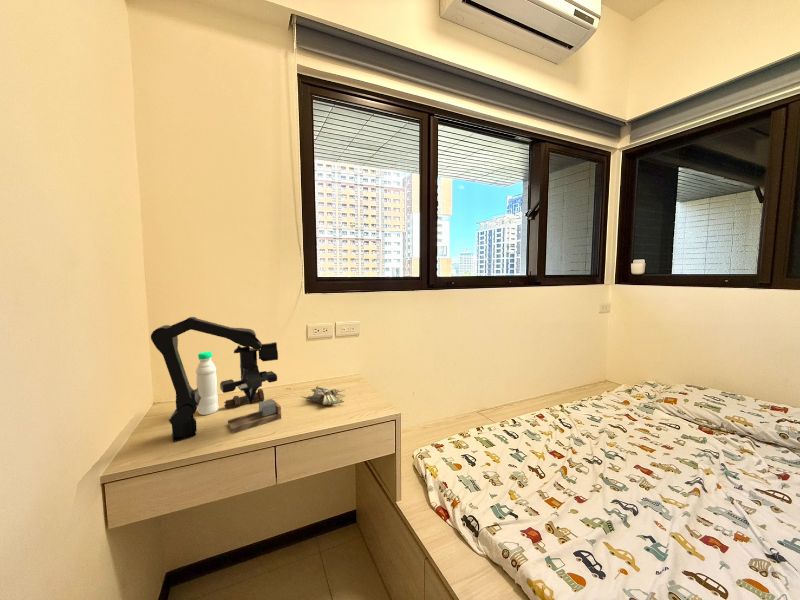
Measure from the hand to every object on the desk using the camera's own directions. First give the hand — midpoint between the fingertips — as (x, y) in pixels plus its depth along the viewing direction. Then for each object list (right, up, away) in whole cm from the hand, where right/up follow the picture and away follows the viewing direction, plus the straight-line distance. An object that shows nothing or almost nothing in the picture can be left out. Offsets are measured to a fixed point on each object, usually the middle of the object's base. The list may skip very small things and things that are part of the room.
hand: (250, 403), depth 116 cm
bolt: (-11, -7, +18) cm, 22 cm away
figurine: (+24, -7, +19) cm, 32 cm away
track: (+1, -8, +2) cm, 8 cm away
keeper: (+5, -6, +5) cm, 9 cm away
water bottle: (-23, -7, +10) cm, 26 cm away
